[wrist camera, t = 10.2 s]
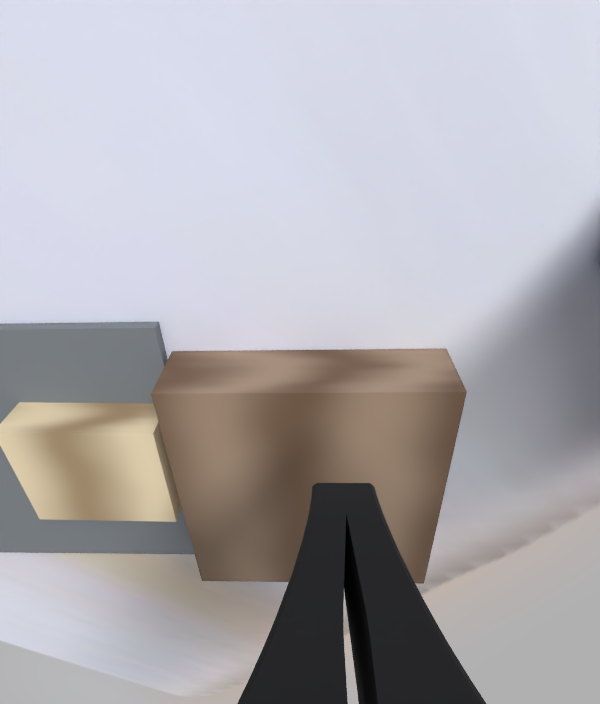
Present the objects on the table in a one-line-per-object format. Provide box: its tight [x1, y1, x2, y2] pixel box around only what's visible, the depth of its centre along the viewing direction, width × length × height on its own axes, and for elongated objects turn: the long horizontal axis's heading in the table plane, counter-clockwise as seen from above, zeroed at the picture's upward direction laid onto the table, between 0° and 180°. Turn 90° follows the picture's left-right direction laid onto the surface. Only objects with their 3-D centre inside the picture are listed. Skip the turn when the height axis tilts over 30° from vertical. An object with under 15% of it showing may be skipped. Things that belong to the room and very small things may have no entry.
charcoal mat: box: [0, 322, 195, 554], centre depth 23 cm, size 16×16×1 cm
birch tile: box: [0, 402, 181, 522], centre depth 21 cm, size 7×6×2 cm
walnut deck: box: [151, 349, 466, 583], centre depth 21 cm, size 12×13×3 cm
